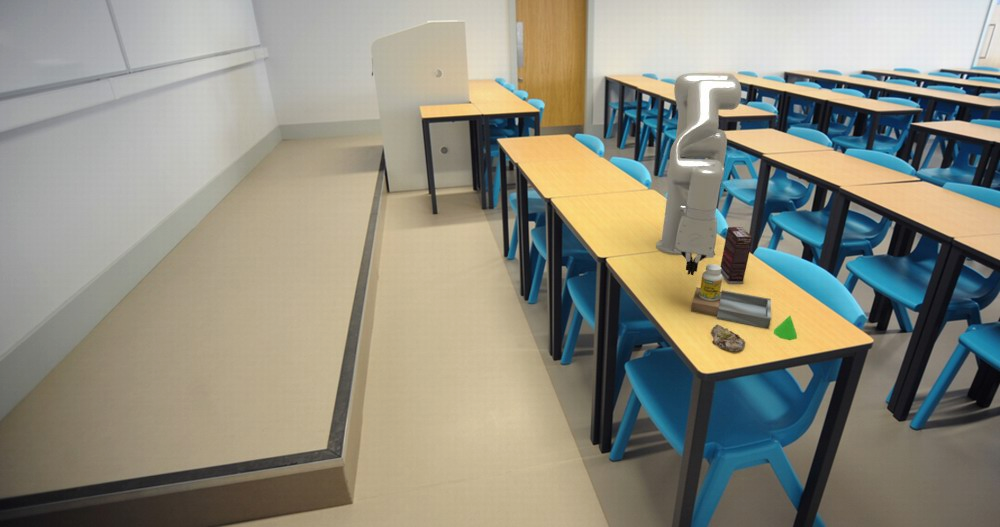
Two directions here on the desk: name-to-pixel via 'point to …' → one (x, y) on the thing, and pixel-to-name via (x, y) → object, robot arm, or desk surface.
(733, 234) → the supplement box
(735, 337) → the mineral rock
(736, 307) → the tray
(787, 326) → the gemstone
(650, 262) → the desk surface
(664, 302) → the desk surface
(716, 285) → the supplement bottle
